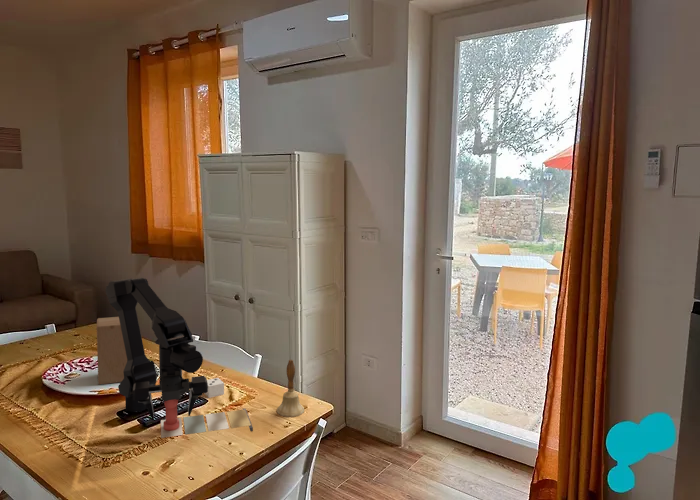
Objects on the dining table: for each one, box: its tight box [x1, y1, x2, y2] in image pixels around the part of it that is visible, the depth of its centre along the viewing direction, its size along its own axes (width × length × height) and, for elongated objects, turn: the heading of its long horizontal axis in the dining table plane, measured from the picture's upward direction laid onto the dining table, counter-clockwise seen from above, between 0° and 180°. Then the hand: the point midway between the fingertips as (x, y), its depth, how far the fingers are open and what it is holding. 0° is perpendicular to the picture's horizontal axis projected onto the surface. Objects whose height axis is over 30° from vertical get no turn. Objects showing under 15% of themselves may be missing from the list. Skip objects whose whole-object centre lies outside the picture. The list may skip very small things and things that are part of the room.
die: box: [203, 377, 225, 398], centre depth 157 cm, size 5×5×5 cm
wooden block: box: [96, 316, 127, 385], centre depth 168 cm, size 10×10×20 cm
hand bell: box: [276, 359, 305, 418], centre depth 149 cm, size 8×8×16 cm
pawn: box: [163, 399, 179, 431], centre depth 135 cm, size 4×4×9 cm
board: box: [160, 408, 254, 439], centre depth 139 cm, size 24×12×1 cm, turn 111°
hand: (171, 417), depth 135 cm, fingers open, 9 cm apart
